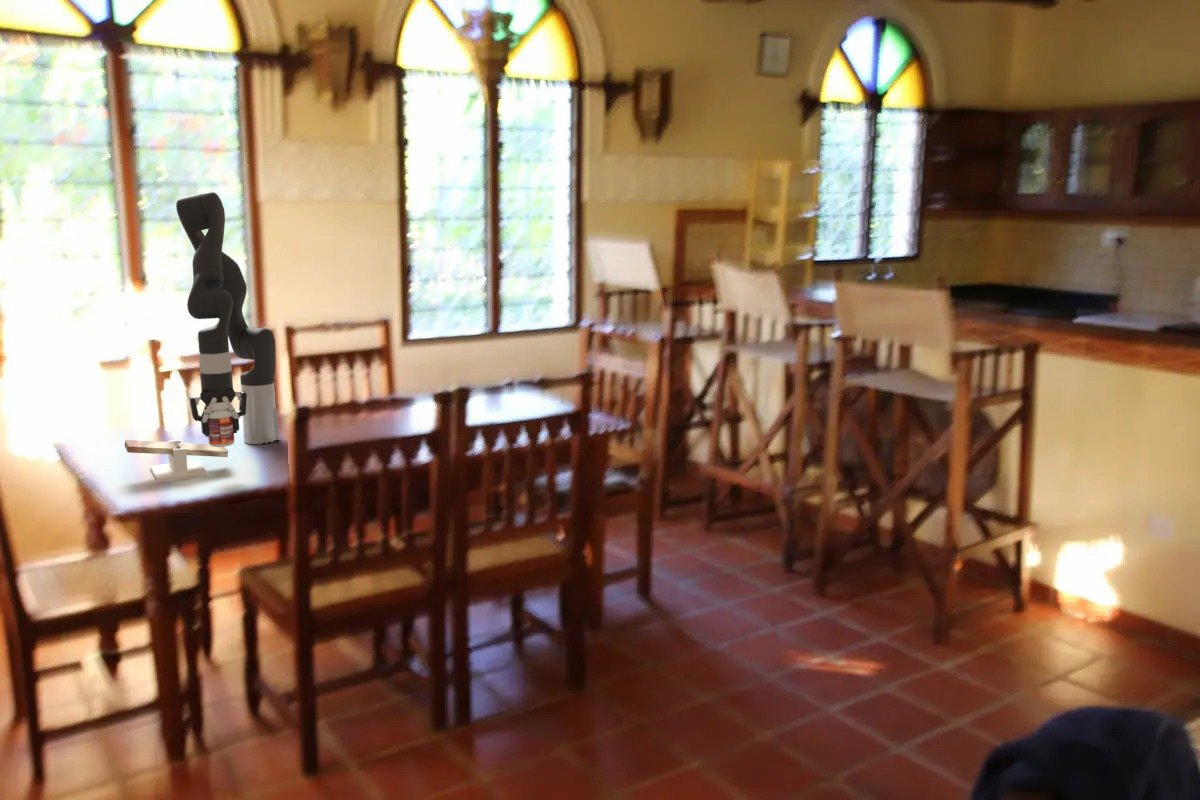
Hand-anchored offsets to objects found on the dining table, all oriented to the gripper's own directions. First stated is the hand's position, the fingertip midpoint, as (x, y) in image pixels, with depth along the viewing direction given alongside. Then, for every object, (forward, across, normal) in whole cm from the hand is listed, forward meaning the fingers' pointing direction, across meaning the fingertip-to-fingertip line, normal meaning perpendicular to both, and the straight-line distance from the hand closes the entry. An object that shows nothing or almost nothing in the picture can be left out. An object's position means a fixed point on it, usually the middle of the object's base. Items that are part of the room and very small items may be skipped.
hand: (220, 434), depth 267 cm
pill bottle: (+3, 0, 0) cm, 3 cm away
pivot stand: (+11, +10, -9) cm, 18 cm away
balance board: (+5, +10, -10) cm, 14 cm away
